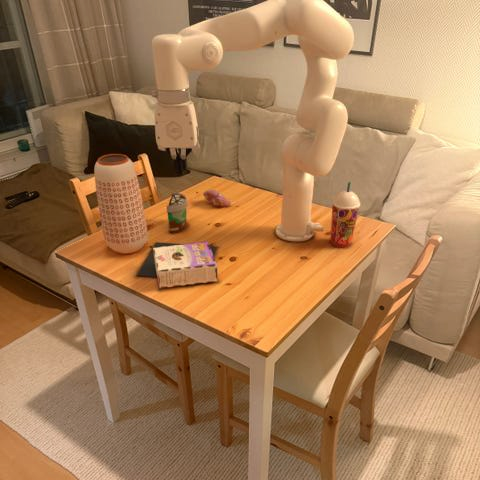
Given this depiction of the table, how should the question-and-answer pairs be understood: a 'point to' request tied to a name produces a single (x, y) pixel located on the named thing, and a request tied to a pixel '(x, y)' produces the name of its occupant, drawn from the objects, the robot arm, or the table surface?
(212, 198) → the sweet potato
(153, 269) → the placemat
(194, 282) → the candy box
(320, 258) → the table surface
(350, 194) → the smoothie
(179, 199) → the food container
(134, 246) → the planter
